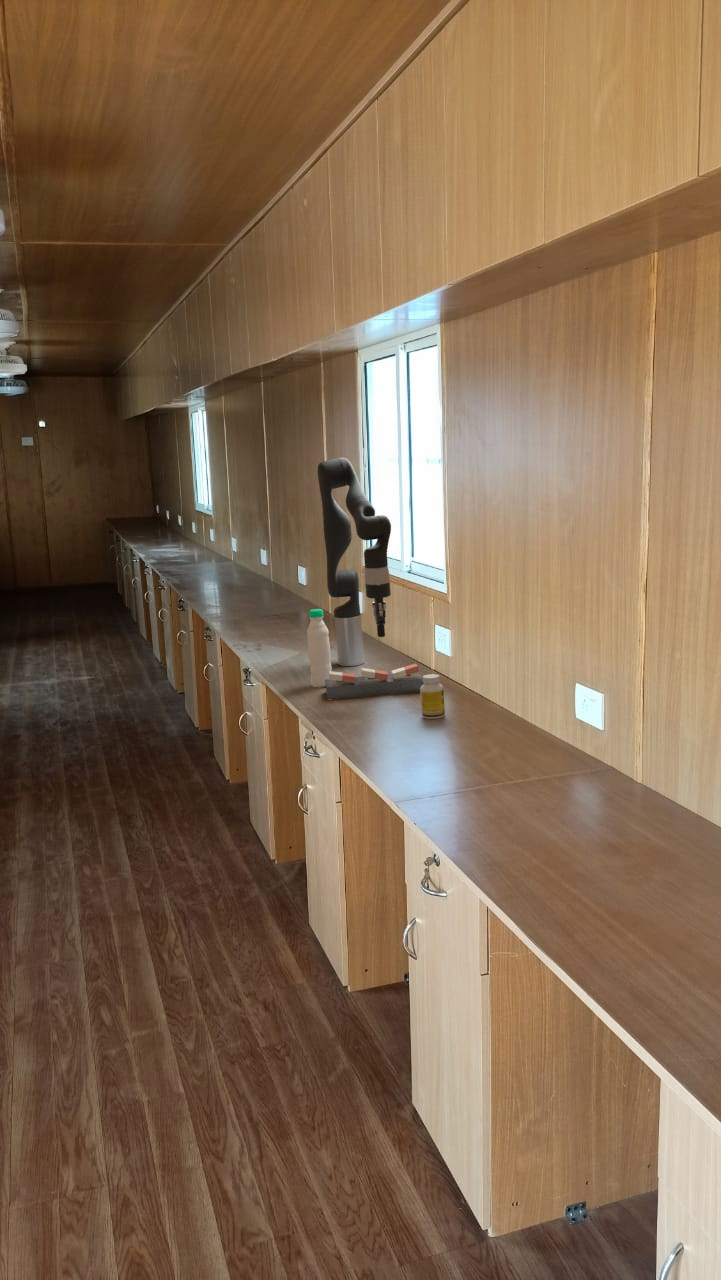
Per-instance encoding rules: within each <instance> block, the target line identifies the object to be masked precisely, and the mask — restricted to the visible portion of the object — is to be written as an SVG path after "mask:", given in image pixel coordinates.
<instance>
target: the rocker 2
mask: <svg viewBox="0 0 721 1280" xmlns="http://www.w3.org/2000/svg"><path fill="white" fill-rule="evenodd" d="M362 676H363V677H369V678H376V679H382V680H387V678H388V671H385V670H379V669H371V668H366V667H361V670H360V677H362Z"/></svg>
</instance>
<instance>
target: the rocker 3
mask: <svg viewBox="0 0 721 1280" xmlns="http://www.w3.org/2000/svg"><path fill="white" fill-rule="evenodd" d="M419 671H420V669H419V666H418V665H417V663H413V664H409V665H407V666H403V667H399V668H395V669H393V670H391V674H392V675H393V677H394V679H396V678H400V677H403V676H406V675H410V674H413V673H416V672H419Z"/></svg>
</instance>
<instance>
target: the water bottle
mask: <svg viewBox="0 0 721 1280" xmlns="http://www.w3.org/2000/svg"><path fill="white" fill-rule="evenodd" d="M308 616H309V617H308V618H309V619H310V623H309V624H308V627H307V629H306V630H307V631H306V636H307V649H308V659H309V664H310V665H309V672H310V684H311V686H312V687H313V686H315V687H314V688H326V687H325V686H326V684H325V680H328V679H329V671H333V669H332V663H331V646H330V638H329V629H328V627H327V625H326V623H325V621H324V620H323V618H324V610H323V609H322V608H313V609H310V610H308Z"/></svg>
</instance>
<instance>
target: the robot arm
mask: <svg viewBox="0 0 721 1280" xmlns="http://www.w3.org/2000/svg"><path fill="white" fill-rule="evenodd" d="M317 478H318V479H317V480H318V487H319V492H320V500H321V508H322V520H323V525H322V526H323V535H324V537H323V538H324V545H325V553H326V582H327V583H326V584H327V585H326V586H327V591H328V594H329V596H330V597H331V598H344V597H345V598H347V597H349V599H348V600H347V601H346V602H345V603H343V604H341V605H339V606H337V607H335V608H334V609H333V615H334V617H333V618H334V629H335V641H336V642H335V643H336V652H337V663H338V664H339V665H338V666H340V665H341V667H353V666H354V667H355V666H360V665H363V664H364V663H365V658H364V657H365V656H364V642H363V632H362V631H363V629H362V617H361V607H360V584H359V583H360V580H359V575H358V572H357V571H356V570H355V569H345V570H338V565H339V564H340V561H341V559H342V557H343V556H344V554H345V553H346V551H347V549H348V548H349V546H350V544H351V542H352V539H353V538H352V534H353V533H352V523H351V522H352V521H351V519H350V517H349V516H348V514H347V513H346V512H345V511H344V510H343V509H342V508H341V507H340V506H339V504H338V502H336V500H335V498H334V497H333V492H332V491H333V490H334V489H339V488H343V487H347V486H348V490H347V493H346V497H345V506H346V508H347V511H348V512H349V514H350V516H351V517H352V519H353V521H354V523H355V530H356V535H357V536H358V538H359V539H361V540H362V541H372V540H376V542H375V544H374V545H373V546H370V547H367V548H365V550H364V552H363V559H364V584H365V585H364V586H365V596H366V598H368V599H373V600H374V601H373V602H372V609H373V617H374V618H375V619H374V620H375V625H376V631H377V633H376V635H377V637H378V638H384V637H386V632H385V629H386V628H385V624H386V617H387V613H386V611H387V610H386V609H387V604H386V601H384V598H389V597H390V596H391V580H390V571H389V566H388V565H389V563H388V548H389V541H390V537H391V533H392V523H391V521H390V519H389V518H388V516H386V515H383V514H378V515H376V509H375V508H374V506H373V504H372V503H371V502H370V500H369V499H368V497H367V496H366V493H365V492H364V490H363V488H362V485H361V483H360V481H359V478H358V475H357V473H356V471H355V468H354V467H353V465H352V463H351V462H350V460H349V459H348V458H346V457H337V458H334V459H329V460H324V461H321V462H319V463H318V465H317Z"/></svg>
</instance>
